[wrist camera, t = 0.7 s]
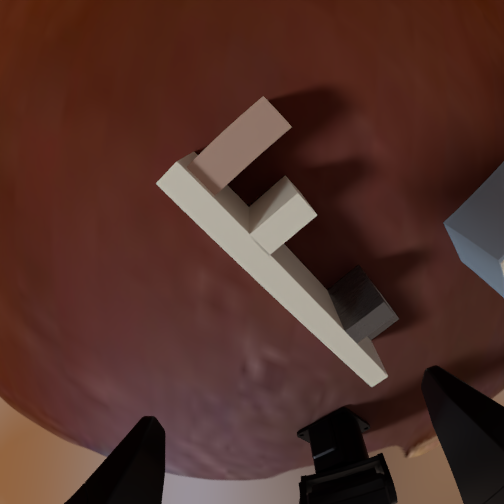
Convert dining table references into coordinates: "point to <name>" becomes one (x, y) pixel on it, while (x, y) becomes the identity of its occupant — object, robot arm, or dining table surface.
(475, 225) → the boxed book
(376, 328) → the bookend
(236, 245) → the white notched bar
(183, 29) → the dining table surface
